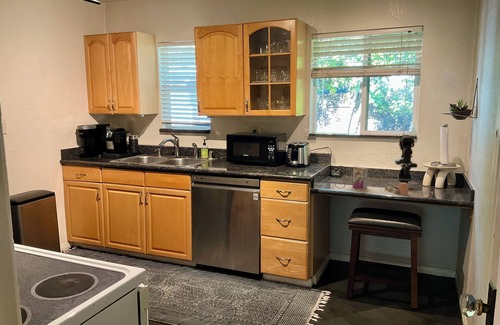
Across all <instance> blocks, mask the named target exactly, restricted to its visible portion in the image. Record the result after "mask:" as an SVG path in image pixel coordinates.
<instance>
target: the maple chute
mask: <svg viewBox="0 0 500 325" xmlns="http://www.w3.org/2000/svg"><path fill="white" fill-rule="evenodd" d="M384 190H385V191H387V192H390V193H393V194H396V195H400V194H399V190H398V185H395V184H394V185H393V187H391V186H388V185H385V186H384Z"/></svg>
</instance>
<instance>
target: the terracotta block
mask: <svg viewBox="0 0 500 325" xmlns="http://www.w3.org/2000/svg"><path fill="white" fill-rule="evenodd" d="M397 184H398V185H397V186H398V190H399V194H398V195H400V196H408V195H409V189H410V188H409V186H410V184H409V182H408V183H400V182H398V183H397Z"/></svg>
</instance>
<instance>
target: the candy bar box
mask: <svg viewBox="0 0 500 325" xmlns="http://www.w3.org/2000/svg"><path fill="white" fill-rule="evenodd" d="M352 169H353V170H352V187H353V188H355V189H360V190H363V189H364V190H365V189H368V177H369V175H368V173H369V168H368V167H362V166H353V167H352Z"/></svg>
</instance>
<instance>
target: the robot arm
mask: <svg viewBox="0 0 500 325" xmlns="http://www.w3.org/2000/svg"><path fill="white" fill-rule="evenodd" d="M398 147H399V150H400V151H401V156H400V157H399V158H397V159H395V160H394V162H395V165H397V166H400V167H401V168H400V170H399V172H398V174H397V175H398V176H397V181H399V183H408V184H409V182H411V181H412V175H411V172H410V171H411V169H412V168H413V169H414V168H415V169H416V168H418V164H417V163H415V162H413V161H412V158H413V149H412V148H414V147H415V139H414V138H413V137H412V136H410V135H409V134H403V135H402V137H401V138H399V143H398Z"/></svg>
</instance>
